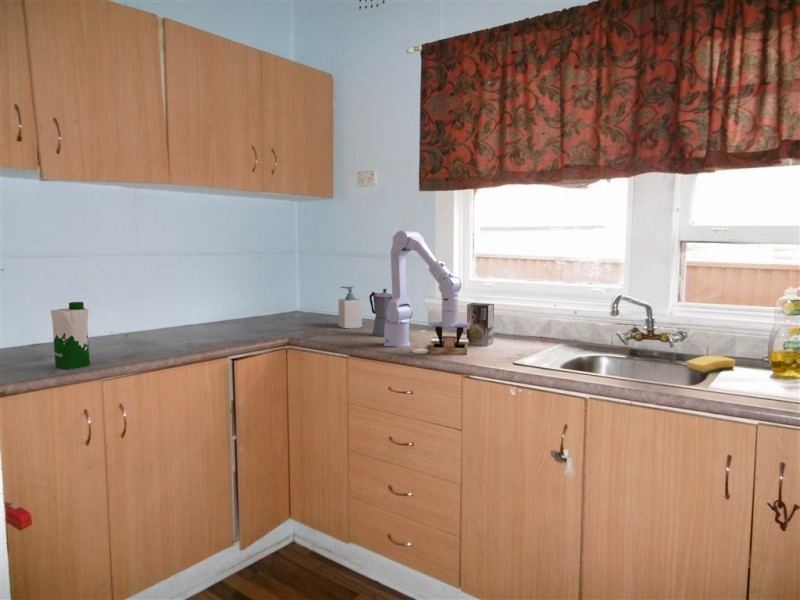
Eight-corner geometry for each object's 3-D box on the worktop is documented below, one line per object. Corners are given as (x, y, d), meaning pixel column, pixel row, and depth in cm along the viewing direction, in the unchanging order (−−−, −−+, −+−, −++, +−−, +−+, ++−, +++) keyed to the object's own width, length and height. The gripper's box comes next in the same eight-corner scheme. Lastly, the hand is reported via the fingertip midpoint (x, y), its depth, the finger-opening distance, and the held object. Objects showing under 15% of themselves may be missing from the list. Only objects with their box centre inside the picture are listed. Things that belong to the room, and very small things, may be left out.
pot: (441, 353, 195) (442, 337, 195) (442, 350, 200) (442, 335, 200) (455, 353, 195) (456, 338, 194) (456, 350, 200) (456, 335, 199)
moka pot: (389, 338, 225) (389, 290, 223) (361, 334, 234) (361, 288, 232) (403, 335, 233) (403, 288, 230) (375, 331, 242) (375, 286, 240)
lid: (430, 343, 202) (430, 340, 202) (432, 339, 211) (432, 336, 210) (468, 344, 200) (468, 342, 200) (468, 340, 209) (468, 337, 209)
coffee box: (493, 344, 214) (494, 303, 213) (487, 347, 209) (488, 305, 207) (472, 342, 219) (473, 302, 217) (465, 344, 213) (466, 303, 212)
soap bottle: (338, 326, 256) (337, 285, 254) (355, 325, 260) (355, 285, 258) (344, 328, 249) (343, 287, 246) (362, 327, 252) (362, 286, 250)
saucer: (410, 354, 195) (410, 351, 195) (412, 350, 201) (412, 348, 201) (428, 354, 194) (428, 352, 194) (430, 351, 200) (430, 348, 200)
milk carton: (94, 365, 174) (91, 302, 172) (64, 370, 166) (60, 305, 164) (80, 361, 179) (77, 300, 177) (50, 366, 171) (46, 303, 169)
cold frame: (430, 354, 194) (430, 347, 194) (432, 346, 210) (433, 339, 210) (467, 355, 193) (467, 348, 192) (466, 347, 208) (467, 340, 208)
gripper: (428, 311, 193) (428, 349, 194) (470, 312, 191) (469, 350, 192) (430, 309, 200) (429, 345, 201) (470, 310, 198) (469, 347, 199)
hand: (449, 348), depth 197 cm, fingers closed on pot, 5 cm apart
